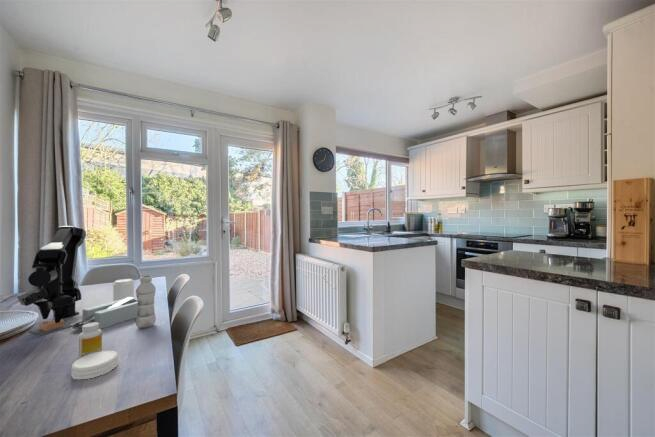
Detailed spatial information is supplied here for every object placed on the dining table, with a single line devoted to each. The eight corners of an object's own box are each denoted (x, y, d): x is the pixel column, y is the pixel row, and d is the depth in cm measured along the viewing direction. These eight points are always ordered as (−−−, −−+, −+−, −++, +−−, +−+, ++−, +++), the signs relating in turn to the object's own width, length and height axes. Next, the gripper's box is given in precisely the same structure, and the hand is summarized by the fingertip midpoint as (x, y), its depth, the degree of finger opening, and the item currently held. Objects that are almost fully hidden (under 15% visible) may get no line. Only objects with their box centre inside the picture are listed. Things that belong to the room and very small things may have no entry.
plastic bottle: (159, 325, 107) (159, 275, 107) (141, 331, 101) (142, 279, 101) (149, 322, 110) (149, 274, 110) (131, 328, 104) (132, 277, 104)
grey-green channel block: (99, 329, 103) (100, 313, 103) (82, 323, 108) (82, 309, 107) (146, 313, 119) (147, 300, 119) (130, 309, 124) (130, 297, 124)
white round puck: (126, 363, 79) (126, 351, 79) (90, 383, 70) (90, 370, 70) (100, 359, 82) (100, 348, 82) (61, 378, 72) (61, 365, 72)
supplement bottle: (105, 352, 85) (106, 322, 85) (85, 361, 80) (86, 329, 80) (94, 349, 87) (95, 320, 87) (74, 357, 82) (74, 326, 82)
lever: (77, 330, 100) (76, 327, 100) (72, 328, 101) (71, 325, 101) (134, 299, 118) (133, 297, 118) (129, 298, 120) (128, 296, 119)
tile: (39, 328, 101) (39, 322, 101) (57, 324, 106) (57, 318, 106) (46, 331, 100) (46, 324, 100) (63, 326, 104) (64, 320, 104)
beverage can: (125, 307, 127) (125, 282, 127) (108, 307, 128) (108, 282, 128) (137, 302, 136) (137, 278, 136) (122, 301, 136) (122, 278, 136)
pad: (28, 331, 100) (28, 330, 100) (60, 322, 108) (60, 321, 108) (40, 335, 97) (40, 334, 97) (72, 326, 105) (72, 325, 105)
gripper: (9, 282, 99) (9, 324, 99) (34, 288, 91) (33, 333, 91) (49, 276, 109) (49, 314, 109) (74, 281, 102) (74, 322, 102)
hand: (51, 320), depth 102 cm, fingers open, 9 cm apart
